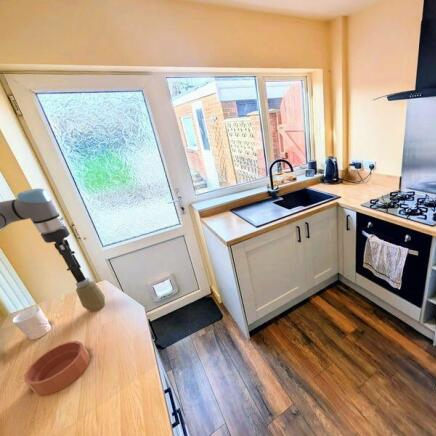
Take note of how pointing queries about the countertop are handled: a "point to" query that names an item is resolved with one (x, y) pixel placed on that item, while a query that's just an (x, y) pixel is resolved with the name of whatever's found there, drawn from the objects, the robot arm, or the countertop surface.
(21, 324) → the white cup
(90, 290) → the squeeze bottle
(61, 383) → the bowl
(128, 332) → the countertop surface
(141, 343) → the countertop surface
